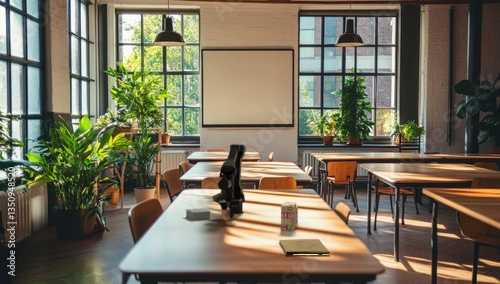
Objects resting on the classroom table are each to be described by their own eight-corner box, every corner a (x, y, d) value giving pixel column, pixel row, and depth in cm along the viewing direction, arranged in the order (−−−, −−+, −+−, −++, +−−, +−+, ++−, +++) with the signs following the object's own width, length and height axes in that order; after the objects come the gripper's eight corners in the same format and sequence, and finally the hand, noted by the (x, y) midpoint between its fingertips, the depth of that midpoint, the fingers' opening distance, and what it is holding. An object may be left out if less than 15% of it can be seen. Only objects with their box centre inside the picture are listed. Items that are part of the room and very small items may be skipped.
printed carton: (286, 222, 262) (286, 198, 261) (297, 222, 260) (298, 199, 260) (280, 230, 241) (281, 205, 240) (293, 231, 240) (294, 205, 239)
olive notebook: (279, 243, 215) (279, 238, 215) (319, 243, 216) (319, 238, 216) (285, 257, 194) (285, 251, 194) (329, 257, 195) (329, 251, 195)
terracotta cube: (229, 218, 270) (230, 209, 270) (233, 219, 265) (234, 210, 265) (221, 218, 267) (221, 209, 267) (225, 220, 263) (225, 211, 263)
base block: (203, 215, 276) (203, 208, 276) (210, 218, 267) (210, 211, 267) (186, 216, 271) (186, 209, 271) (192, 220, 263) (192, 212, 262)
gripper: (207, 186, 270) (207, 214, 271) (221, 190, 254) (221, 221, 254) (226, 185, 275) (225, 213, 276) (240, 189, 259) (240, 219, 259)
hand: (227, 216), depth 266 cm, fingers open, 9 cm apart
